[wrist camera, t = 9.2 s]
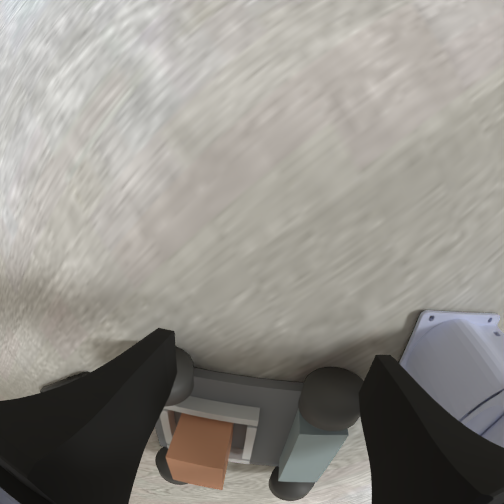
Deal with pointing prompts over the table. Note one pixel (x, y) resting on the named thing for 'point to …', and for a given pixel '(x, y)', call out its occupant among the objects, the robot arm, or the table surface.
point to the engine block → (200, 451)
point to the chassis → (267, 420)
